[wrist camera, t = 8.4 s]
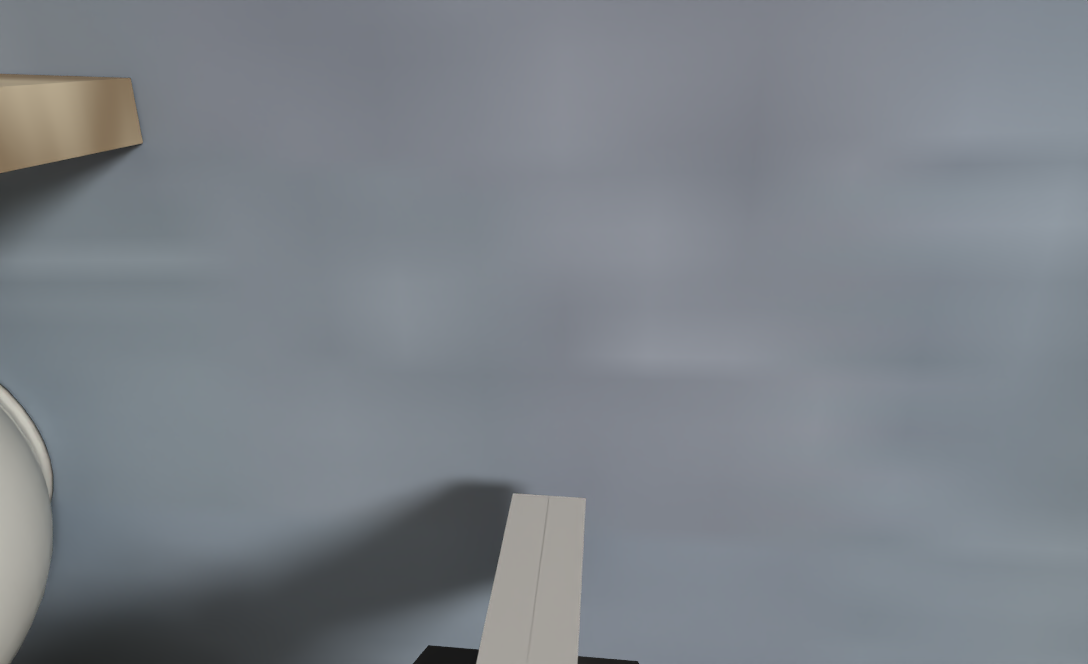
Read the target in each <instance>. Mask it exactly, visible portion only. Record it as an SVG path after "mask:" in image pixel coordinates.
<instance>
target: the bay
mask: <svg viewBox="0 0 1088 664" xmlns="http://www.w3.org/2000/svg"><path fill="white" fill-rule="evenodd" d="M141 143H143V141H142V136H141V131H140V125H139V120H138V115H137V110H136V104H135V99H134V94H133V89H132V84H131V78H112V77H81V76H49V75H18V74H0V173H3V172H8V171H13V170H17V169H22V168H27V167H32V166H37V165H41V164H46V163H51V162H56V161H60V160H65V159H70V158H75V157H79V156H84V155H89V154H94V153H98V152H103V151H108V150H113V149H118V148H122V147H127V146H132V145H137V144H141Z"/></svg>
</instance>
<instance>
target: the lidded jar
mask: <svg viewBox="0 0 1088 664" xmlns="http://www.w3.org/2000/svg"><path fill="white" fill-rule="evenodd" d="M52 494H53V471H52V466H51V460H50V457H49V454H48V451H47V448H46V445H45V443H44V440H43V438H42V437H41V435H40V433H39V431H38V429H37V427H36V425H35V424H34V422H33V421H32V419H31V418H30V416H29V415H28V414H27V412H26V411H25V409H24V408H23V407H22V405H21V404H20V403H19V402H18V401H17V400H16V399H15V398H14V397H13V395H12V394H11V393H10V392H9V391H8V390H7V389H6V388H5V387H4V386H2V385H1V384H0V664H11V662H12V661H13V659H14V657H15V656H16V654H17V652H18V651H19V649H20V648H21V646H22V644H23V641H24V639H25V637H26V635H27V633H28V631H29V629H30V627H31V625H32V623H33V620H34V618H35V615H36V613H37V610H38V608H39V606H40V603H41V601H42V598H43V596H44V591H45V587H46V582H47V578H48V573H49V568H50V563H51V557H52V552H53V520H52V509H51V499H52Z"/></svg>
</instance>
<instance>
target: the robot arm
mask: <svg viewBox="0 0 1088 664" xmlns="http://www.w3.org/2000/svg"><path fill="white" fill-rule="evenodd" d="M585 503H586V498H574V497H559V496H544V495H530V494H515V493H513V495H512V500H511V505H510V509H509V514H508V519H507V523H506V528H505V532H504V537H503V542H502V546H501V551H500V556H499V560H498V565H497V570H496V574H495V579H494V583H493V588H492V593H491V597H490V602H489V607H488V611H487V616H486V620H485V625H484V630H483V634H482V639H481V644H480V648H479V650H477V649H465V648H453V647H441V646H430V645H428V646H427V648H426V649H425V650H424V651H423V652H422V654H421V655H420V656H419V657H418V658H417V660H416V661H415V662H414V663H413V664H639V663H638V661H628V660H617V659H605V658H593V657H581V656H578V643H579V623H580V603H581V583H582V563H583V543H584V523H585Z"/></svg>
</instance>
